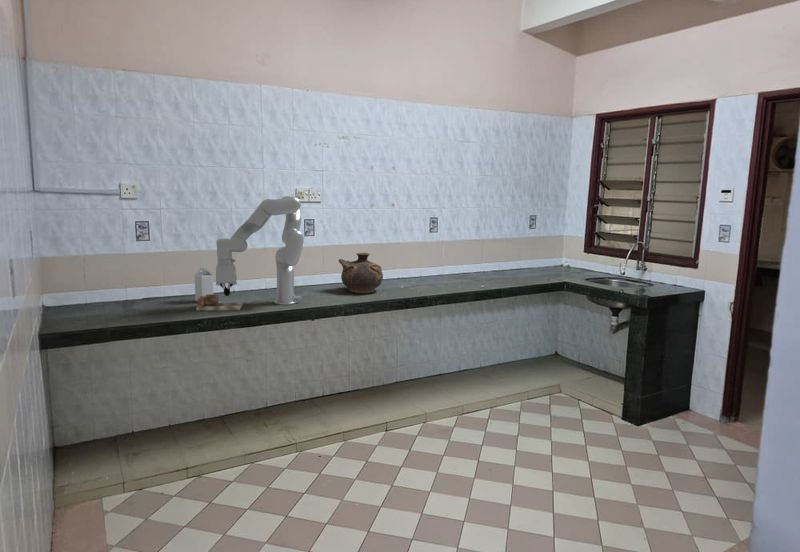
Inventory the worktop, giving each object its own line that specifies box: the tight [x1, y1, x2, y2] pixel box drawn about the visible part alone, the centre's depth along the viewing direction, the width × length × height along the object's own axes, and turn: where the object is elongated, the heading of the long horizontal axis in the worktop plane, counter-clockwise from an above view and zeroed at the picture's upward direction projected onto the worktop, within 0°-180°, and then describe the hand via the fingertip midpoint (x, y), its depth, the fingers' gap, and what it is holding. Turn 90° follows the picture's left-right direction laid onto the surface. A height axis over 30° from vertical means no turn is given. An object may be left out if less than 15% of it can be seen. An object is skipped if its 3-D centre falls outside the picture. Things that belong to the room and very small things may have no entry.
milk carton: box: [194, 266, 214, 303], centre depth 304 cm, size 7×7×19 cm
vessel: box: [338, 252, 384, 294], centre depth 347 cm, size 27×28×25 cm
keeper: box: [205, 293, 219, 305], centre depth 289 cm, size 6×6×5 cm
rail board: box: [196, 296, 243, 311], centre depth 290 cm, size 22×11×6 cm, turn 100°
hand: (227, 295), depth 290 cm, fingers closed
